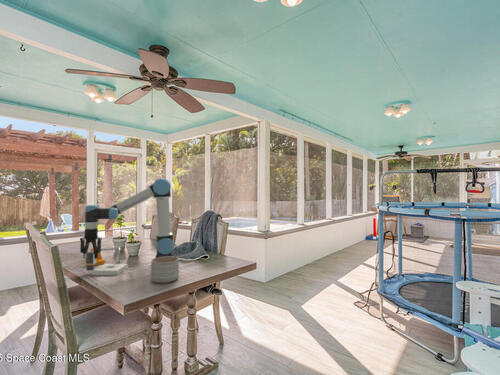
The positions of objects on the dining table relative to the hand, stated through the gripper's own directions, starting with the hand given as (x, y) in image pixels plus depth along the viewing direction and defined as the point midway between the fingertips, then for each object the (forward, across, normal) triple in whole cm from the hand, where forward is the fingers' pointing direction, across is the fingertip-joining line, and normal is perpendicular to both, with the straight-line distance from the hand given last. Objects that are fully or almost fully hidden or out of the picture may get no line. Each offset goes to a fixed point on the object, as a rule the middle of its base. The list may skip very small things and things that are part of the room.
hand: (90, 263), depth 175 cm
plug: (+4, 0, 0) cm, 4 cm away
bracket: (+7, +9, -23) cm, 26 cm away
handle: (+7, -5, -12) cm, 15 cm away
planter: (+7, -53, +12) cm, 55 cm away
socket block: (+7, -11, -5) cm, 14 cm away
